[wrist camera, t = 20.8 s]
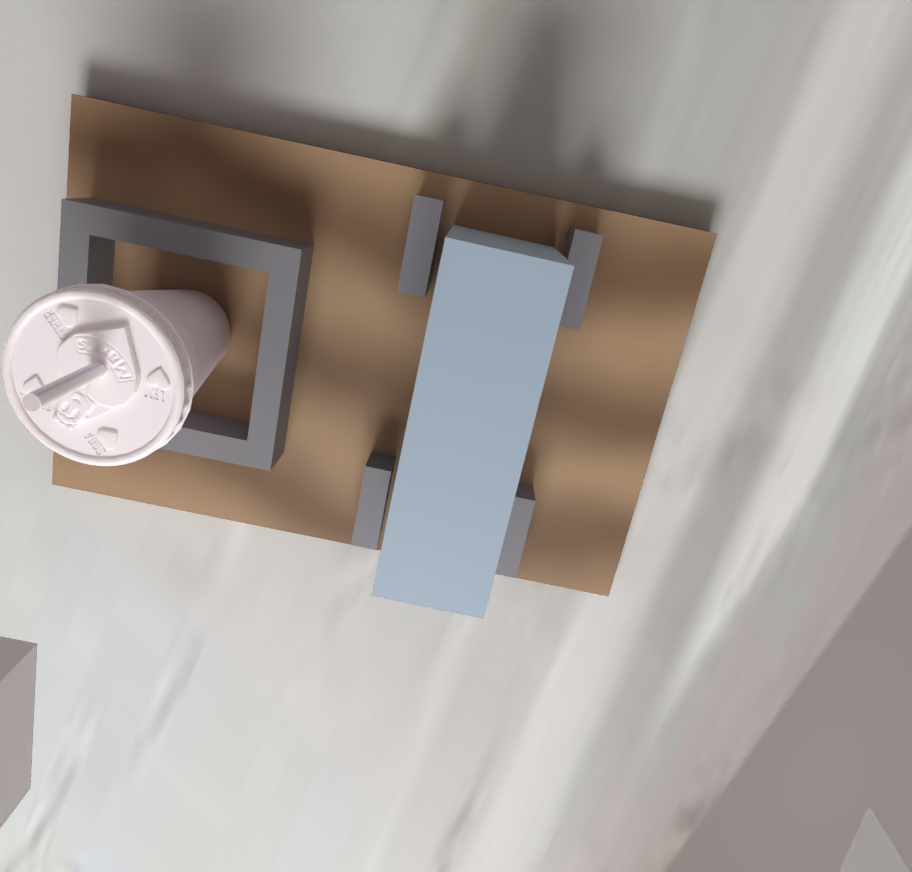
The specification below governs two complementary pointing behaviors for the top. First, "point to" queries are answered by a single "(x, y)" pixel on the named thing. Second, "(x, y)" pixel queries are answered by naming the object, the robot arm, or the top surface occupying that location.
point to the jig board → (386, 331)
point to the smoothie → (111, 367)
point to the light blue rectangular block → (470, 418)
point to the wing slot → (416, 282)
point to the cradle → (287, 262)
